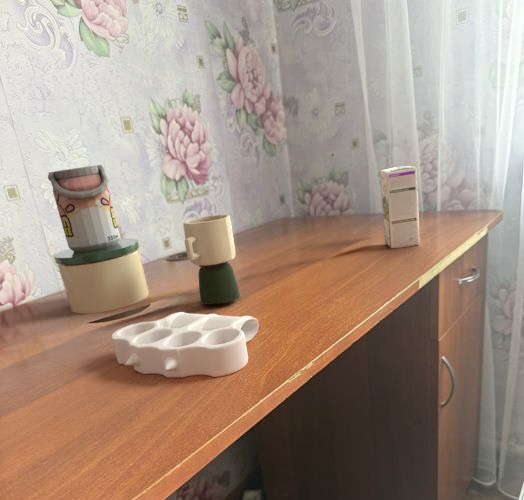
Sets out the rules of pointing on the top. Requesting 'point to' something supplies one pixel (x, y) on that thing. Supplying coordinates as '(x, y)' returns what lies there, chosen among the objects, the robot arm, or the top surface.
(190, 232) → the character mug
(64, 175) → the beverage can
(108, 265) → the jar
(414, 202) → the syrup box
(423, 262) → the top surface
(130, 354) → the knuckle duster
